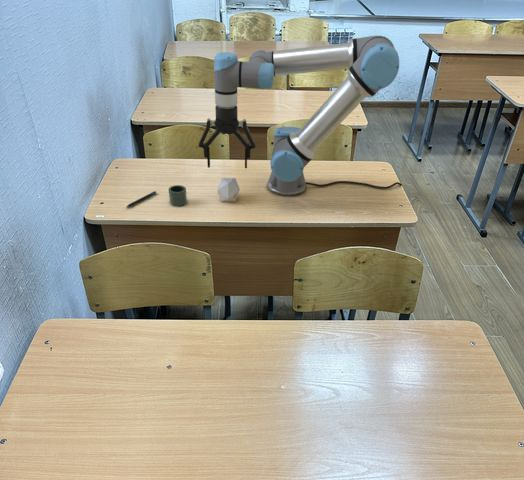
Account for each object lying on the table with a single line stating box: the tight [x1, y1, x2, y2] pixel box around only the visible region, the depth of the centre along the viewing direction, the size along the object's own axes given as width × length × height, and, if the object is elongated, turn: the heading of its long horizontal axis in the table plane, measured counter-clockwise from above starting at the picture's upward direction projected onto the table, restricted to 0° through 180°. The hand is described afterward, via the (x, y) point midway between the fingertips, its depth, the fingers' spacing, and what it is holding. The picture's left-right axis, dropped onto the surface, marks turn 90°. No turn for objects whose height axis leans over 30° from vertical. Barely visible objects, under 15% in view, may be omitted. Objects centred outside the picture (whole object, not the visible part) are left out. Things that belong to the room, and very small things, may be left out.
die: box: [216, 177, 241, 203], centre depth 193 cm, size 8×9×10 cm
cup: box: [168, 184, 188, 207], centre depth 191 cm, size 6×6×6 cm
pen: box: [126, 190, 157, 208], centre depth 192 cm, size 1×16×1 cm, turn 146°
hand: (227, 166), depth 186 cm, fingers open, 13 cm apart
